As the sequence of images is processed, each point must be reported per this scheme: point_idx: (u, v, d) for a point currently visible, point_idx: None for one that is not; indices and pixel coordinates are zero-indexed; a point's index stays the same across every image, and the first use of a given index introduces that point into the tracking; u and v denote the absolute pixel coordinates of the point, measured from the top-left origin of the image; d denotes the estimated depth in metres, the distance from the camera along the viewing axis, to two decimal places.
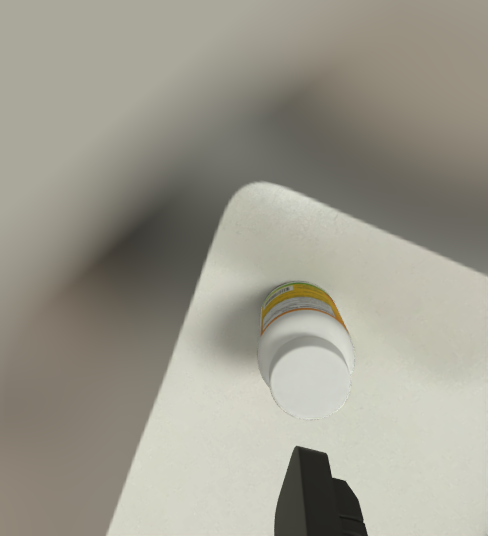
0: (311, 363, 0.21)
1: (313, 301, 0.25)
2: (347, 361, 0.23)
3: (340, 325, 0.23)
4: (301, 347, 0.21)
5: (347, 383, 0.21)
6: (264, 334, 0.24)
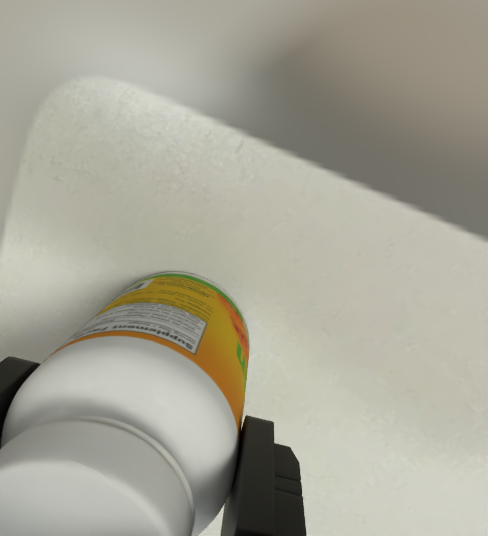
0: (52, 512, 0.07)
1: (162, 312, 0.11)
2: (208, 469, 0.09)
3: (195, 375, 0.09)
4: (18, 466, 0.07)
5: None
6: None
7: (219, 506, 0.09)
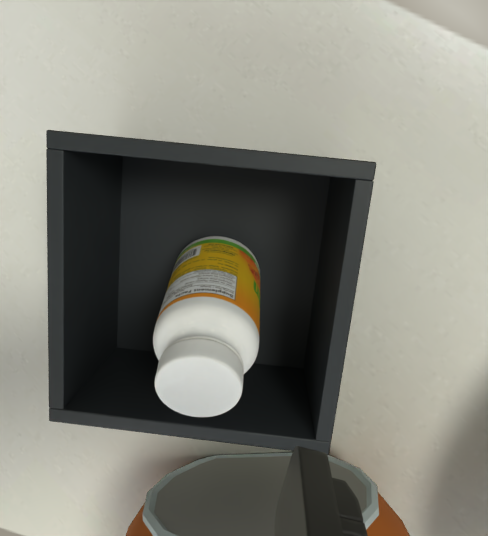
0: (194, 371, 0.19)
1: (214, 276, 0.22)
2: (247, 349, 0.21)
3: (237, 311, 0.21)
4: (180, 358, 0.18)
5: (237, 386, 0.19)
6: (156, 325, 0.21)
7: (252, 362, 0.22)
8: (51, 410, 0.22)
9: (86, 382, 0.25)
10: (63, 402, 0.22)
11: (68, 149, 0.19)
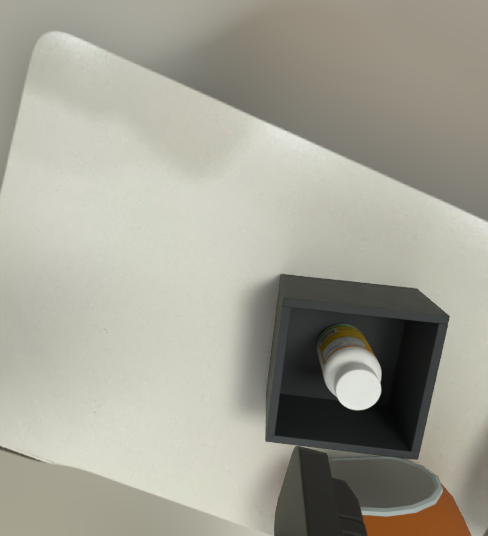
0: (357, 379, 0.38)
1: (352, 339, 0.42)
2: (377, 374, 0.40)
3: (370, 353, 0.40)
4: (351, 371, 0.38)
5: (379, 387, 0.38)
6: (326, 363, 0.41)
7: None
8: (267, 435, 0.41)
9: None
10: (274, 431, 0.41)
11: (293, 307, 0.38)
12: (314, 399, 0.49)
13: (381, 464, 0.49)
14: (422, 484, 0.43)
